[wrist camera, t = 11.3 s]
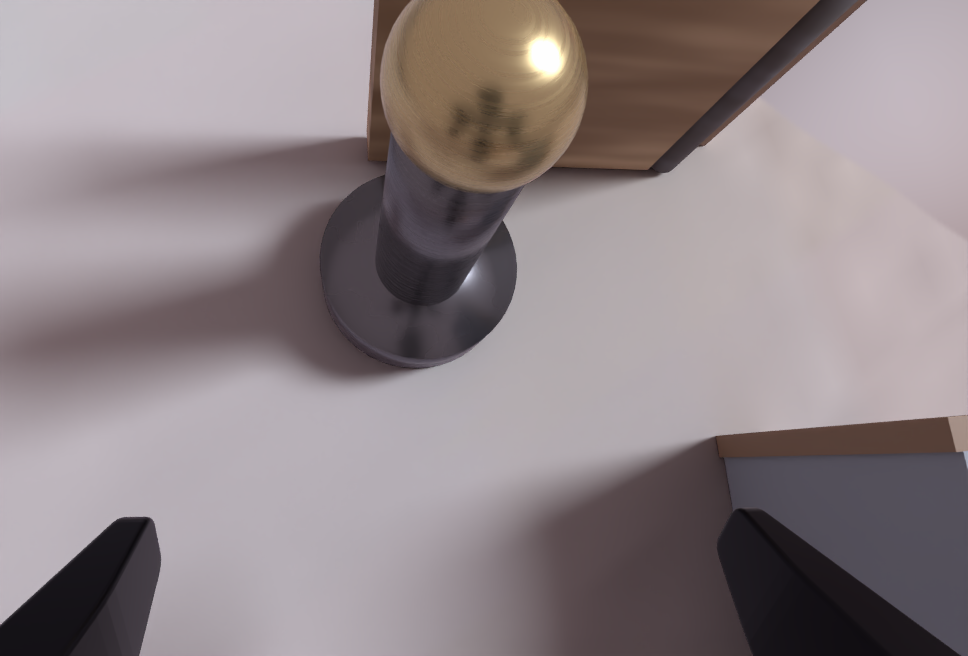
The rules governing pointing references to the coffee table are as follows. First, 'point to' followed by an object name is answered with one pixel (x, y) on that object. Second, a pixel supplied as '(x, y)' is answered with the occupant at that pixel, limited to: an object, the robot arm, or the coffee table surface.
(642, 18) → the door
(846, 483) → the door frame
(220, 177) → the coffee table surface
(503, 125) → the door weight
